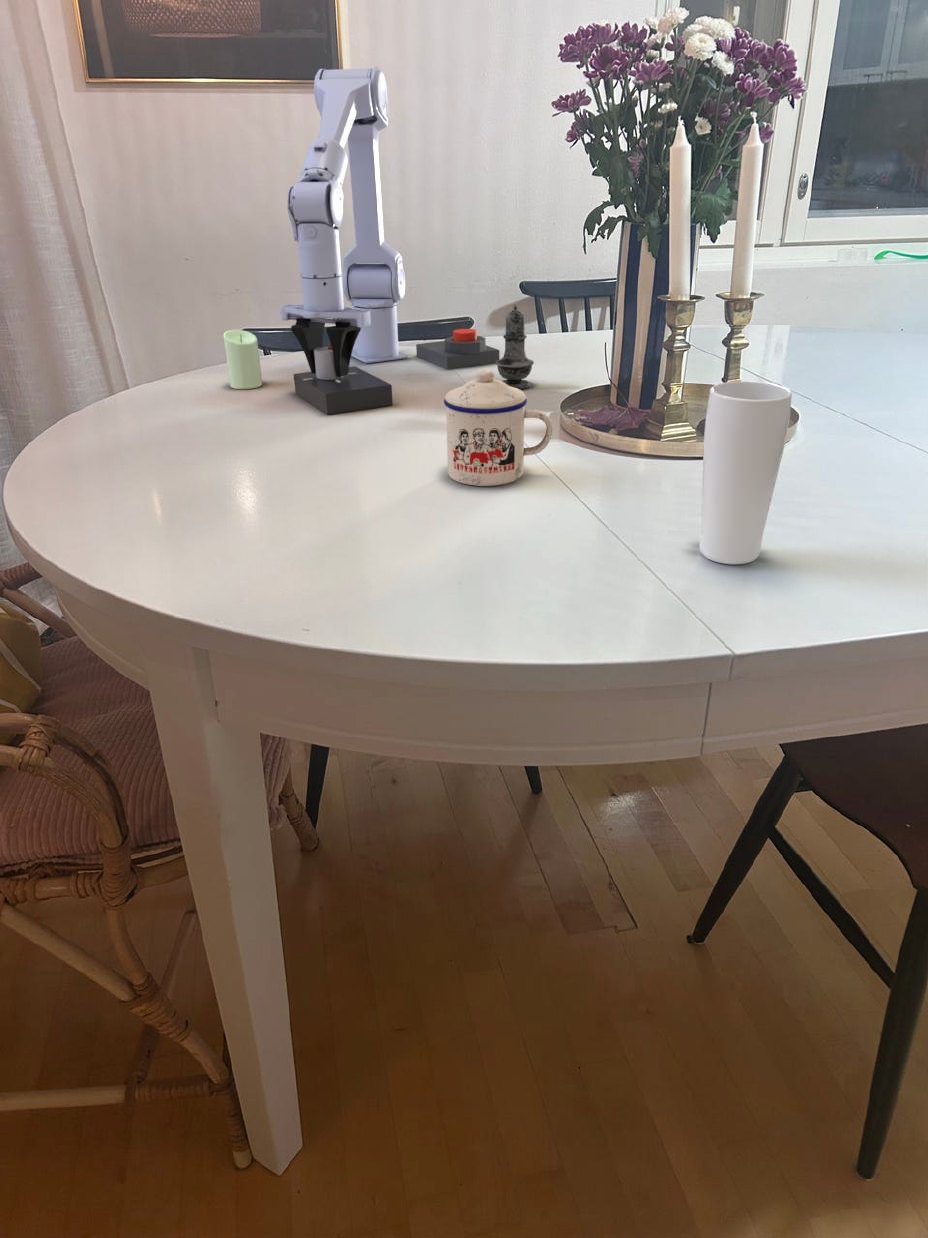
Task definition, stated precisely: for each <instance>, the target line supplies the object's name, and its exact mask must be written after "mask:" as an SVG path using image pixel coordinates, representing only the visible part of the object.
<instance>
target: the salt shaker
mask: <svg viewBox="0 0 928 1238" xmlns="http://www.w3.org/2000/svg"><path fill="white" fill-rule="evenodd" d="M512 308H513V309H512V310H511V311H509V312H508V313H507V314H506V316H505V334H504V335H503V336H502V338H503V339H504V353H503V357H502V358H499V360H497V361H496V363H495V365H496V366H497V371H498V373H499V375H500V376H501V378H503V379H504V380H501V381H502V382H504V383H505V384H507V385H508V386H511V387H514V388H517V389H519V390H521V391H522V390H527V389H529V388H531V387H532V385H533V384H532V383H531V382H529V381H528V380H526V378H527V377H528V376H529V375H530V374H531V371H532V370H533V366H534V363H535V361H534V360H533V359H529V358H528V357H527V355H526V349H525V347H526V346H525V344H526V339H527V337H528V336H527V335H526V334H525V322H526V321H525V315H524V313H522V311H520V310H518V306H517V304H514V305H513V307H512Z"/></svg>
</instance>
